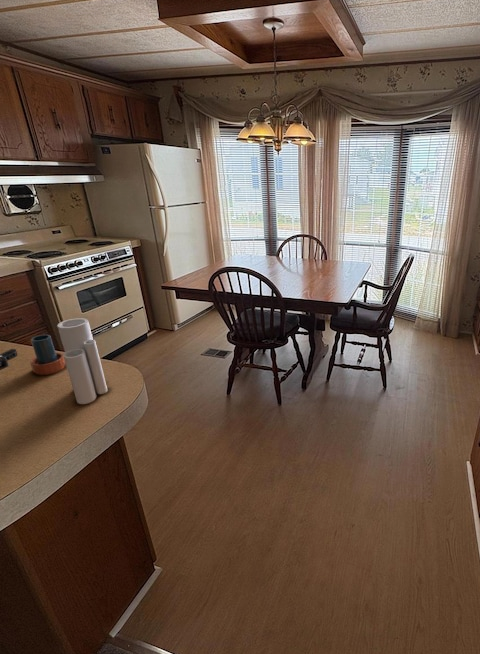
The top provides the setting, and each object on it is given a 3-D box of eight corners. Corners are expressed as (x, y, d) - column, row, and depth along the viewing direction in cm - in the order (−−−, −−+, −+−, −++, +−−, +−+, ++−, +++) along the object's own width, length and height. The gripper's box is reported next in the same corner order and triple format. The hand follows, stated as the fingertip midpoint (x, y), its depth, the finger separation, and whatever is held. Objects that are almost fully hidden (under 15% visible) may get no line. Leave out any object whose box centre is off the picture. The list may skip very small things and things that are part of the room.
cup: (48, 372, 102) (38, 342, 98) (36, 369, 103) (26, 339, 100) (63, 364, 106) (54, 335, 103) (51, 362, 108) (42, 333, 104)
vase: (75, 385, 97) (56, 321, 90) (104, 378, 101) (89, 316, 94) (77, 406, 89) (56, 337, 81) (109, 397, 93) (92, 330, 85)
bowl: (42, 378, 100) (39, 367, 99) (28, 370, 104) (24, 360, 102) (71, 366, 107) (68, 356, 106) (57, 359, 110) (54, 350, 109)
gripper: (-51, 372, 73) (21, 340, 88) (-108, 365, 75) (-28, 334, 90) (-38, 401, 76) (29, 365, 91) (-93, 394, 78) (-18, 359, 93)
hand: (1, 350), depth 90 cm, fingers open, 8 cm apart
